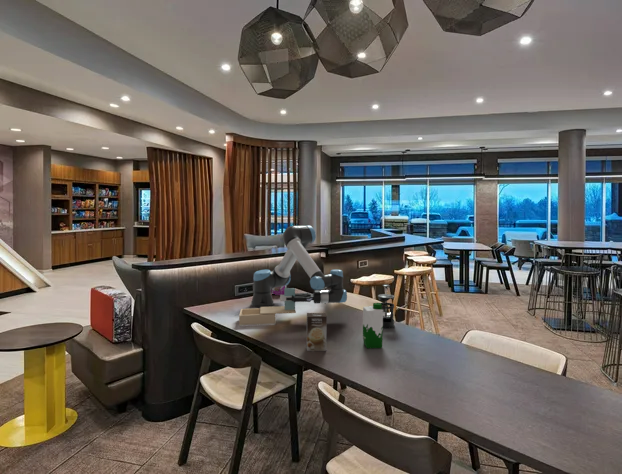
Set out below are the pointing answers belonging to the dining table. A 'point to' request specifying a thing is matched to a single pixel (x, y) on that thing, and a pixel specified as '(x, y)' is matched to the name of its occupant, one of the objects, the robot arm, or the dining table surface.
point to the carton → (255, 318)
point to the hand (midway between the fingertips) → (280, 298)
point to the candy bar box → (278, 290)
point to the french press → (388, 319)
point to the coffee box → (316, 331)
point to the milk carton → (373, 326)
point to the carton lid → (287, 308)
